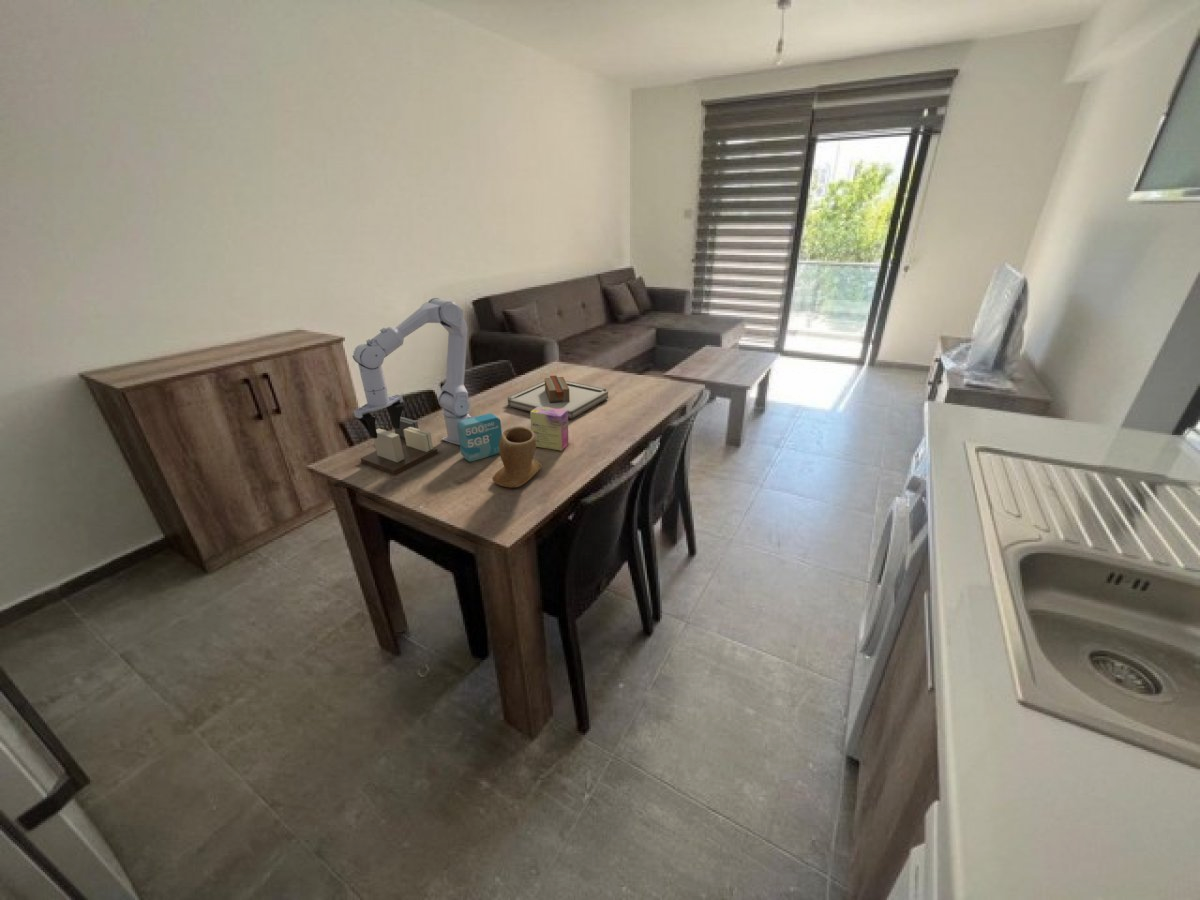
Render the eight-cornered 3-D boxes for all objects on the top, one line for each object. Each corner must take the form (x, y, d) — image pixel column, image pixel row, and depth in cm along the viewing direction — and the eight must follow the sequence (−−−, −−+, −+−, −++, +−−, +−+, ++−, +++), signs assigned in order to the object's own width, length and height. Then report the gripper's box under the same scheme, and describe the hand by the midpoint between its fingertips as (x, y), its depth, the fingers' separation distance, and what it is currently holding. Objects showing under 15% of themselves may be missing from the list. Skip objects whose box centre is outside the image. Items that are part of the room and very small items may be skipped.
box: (569, 443, 153) (567, 409, 148) (562, 451, 149) (560, 416, 143) (539, 439, 156) (537, 405, 151) (532, 446, 152) (529, 412, 146)
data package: (467, 463, 142) (461, 426, 136) (461, 457, 145) (455, 421, 140) (504, 452, 148) (500, 416, 143) (497, 447, 151) (493, 412, 146)
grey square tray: (611, 397, 191) (611, 379, 188) (567, 422, 168) (566, 402, 165) (551, 384, 205) (550, 367, 202) (503, 406, 183) (501, 387, 180)
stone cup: (523, 495, 126) (519, 444, 119) (487, 485, 130) (480, 435, 124) (553, 470, 138) (550, 422, 131) (519, 461, 142) (514, 415, 136)
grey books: (420, 437, 158) (417, 421, 155) (413, 441, 156) (410, 424, 153) (402, 432, 162) (398, 415, 159) (395, 435, 160) (392, 418, 157)
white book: (404, 459, 141) (399, 434, 138) (397, 462, 139) (391, 437, 136) (384, 452, 145) (378, 428, 142) (377, 455, 143) (371, 431, 140)
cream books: (433, 448, 147) (430, 432, 145) (426, 452, 145) (423, 435, 143) (413, 442, 151) (410, 426, 149) (406, 445, 149) (403, 429, 147)
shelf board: (438, 453, 148) (437, 448, 147) (394, 475, 136) (393, 470, 135) (405, 442, 155) (404, 438, 154) (361, 462, 142) (360, 458, 142)
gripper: (387, 378, 140) (397, 421, 146) (342, 393, 129) (354, 438, 135) (404, 382, 137) (412, 425, 143) (358, 398, 126) (370, 444, 132)
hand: (385, 432), depth 139 cm, fingers open, 7 cm apart
